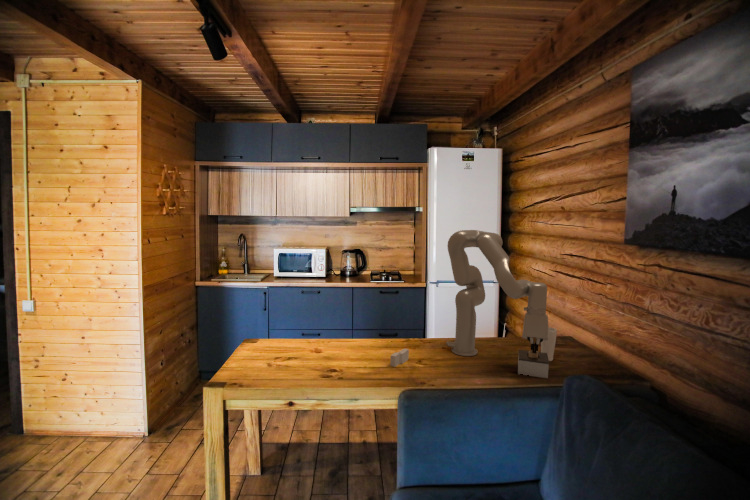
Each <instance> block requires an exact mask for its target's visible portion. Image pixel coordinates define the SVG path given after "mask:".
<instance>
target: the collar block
mask: <svg viewBox="0 0 750 500" xmlns="http://www.w3.org/2000/svg"><path fill="white" fill-rule="evenodd" d="M529 351H530V350H524V349H518V357H517V359H518V360H517V375H520V374H523V375H522V376H527V375H529V377H536V378H542V379H549V368H550V365H549V364H550V361H549V360H548V355H547V353H541V351H537V352H538V358H532V357H528V354H529Z"/></svg>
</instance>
